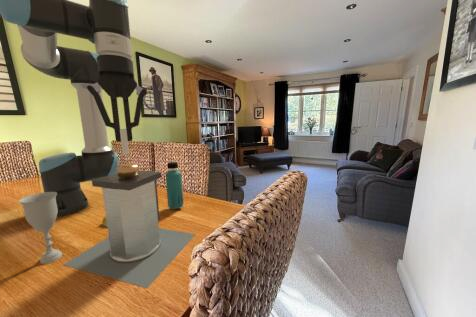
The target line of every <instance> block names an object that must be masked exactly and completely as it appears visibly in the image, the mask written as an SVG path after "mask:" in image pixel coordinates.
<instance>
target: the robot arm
mask: <svg viewBox="0 0 476 317" xmlns="http://www.w3.org/2000/svg"><path fill="white" fill-rule="evenodd" d="M88 4H89V5H85V4H81V3H79V2H74V1H72V0H0V17H1V19H3V20H4V21H5V22H7V23H10V24H13V25H16V26H17V28H18V32H19V34H20V35H19V36H20V38H21V42H22V43H21V45H20V52H21V55H22V58H23V60H24V61H26V62H27V64H29V66H31V67H32V68H33V69H34V70H37V71H38V72H40V73H42V74H44V75H46V76H50V77H52V78H57V79H61V80H62V79H63V80H69V81H70V85H71V86H72V87H73V88H75V90H76V95H77V102H78V107H79V113H80V114H79V117H80V122H81V128H82V135H83V141H84V148H83V149H82V150H81V155H76V152H66V153H64V152H63V153H61V154H60V153H58V154H54V155H49V156H46V157H44V158H41V159H39V161H38V172H39V174H40V179H41V185H42V190H43V193H44V192H57V195H56V197H55V198H56V204H57V209H58V213H57V217H61V216H66V215H67V216H68V215H70V214H71V215H72V214H74V213H78V212H80V211H82V210H84V209H86V208H87V207H88V206H89V200H88V198H87V196H86V195H85V193H84V191H83V190H82V187H81V183H85V182H92V180H95V179H99V178H102V177H105V176H109V175H112V174H116V173H117V166H119V165H120V164H119V163H120V162H119V156H118V152H116V151H114V150H113V148H112V147H111V146H110V145H109V140H108V132H107V131H108V130H107V127H109V128H111V129H113V130H114V137H115V141H116V142H117V143H119V142H121V143H120V144H121V152H122V155H123V156H124V155H125V156H126V155H130V148H129V142H132V141H133V132H132V131H133V130H132V129H133V128H135V127H138V126H139V125H140V118H141V112H142V106H143V100H144V97H145V96H146V94H147V93H148V91H147V90H148V89H146V88H144V87H143V88H142V87H141V86H140V85H138V81H137V80H136V79H135V72H134V71H135V68H134V61H133V60H132V59H133V51H132V49H133V48H132V41H131V32H130V30H131V29H130V19H129V5H128V1H127V0H89V2H88ZM58 34H59V35H66V36H70V37H74V38H79V39H84V40H87V41H89V42H90V43H92V44H93V45H94V46H95V52H92V51H90V50H82V49H76V48H70V47H65V46H59V45H58ZM135 90H136V95H137V99H136V100H137V101H136V105H135V109H134V110H135V112H134V116H133V117H134V118H133V122H132V120H131V113H130V111H131V110H130V102H129V98H130V97H131V96H132V94H133V93H134V91H135ZM103 91H104V92H105V93H106V94H107V95H108V96H109V97H110V103H111V112H112V121H111V118H110V116H109V114H108V111H107V108H106V106H105V105H104V101H103ZM118 98H122V104H123V111H124V114H123V115H124V121H125V128H121V123H120V115H119V106H118V105H119V104H118Z"/></svg>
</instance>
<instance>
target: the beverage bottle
mask: <svg viewBox="0 0 476 317" xmlns="http://www.w3.org/2000/svg"><path fill="white" fill-rule="evenodd" d="M178 168H179V164H178V162H177V161H171V162H170V161H169V162H168V163H167V169H170V170H167V171H166V172H165V174H164V175H165V184H166V199H167V207H168V208H169V209H180V208H182V207H183V206H184V199H185V198H184V193H183V191H184V190H183V178H182V172H181V171H180V170H179V169H178Z"/></svg>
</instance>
